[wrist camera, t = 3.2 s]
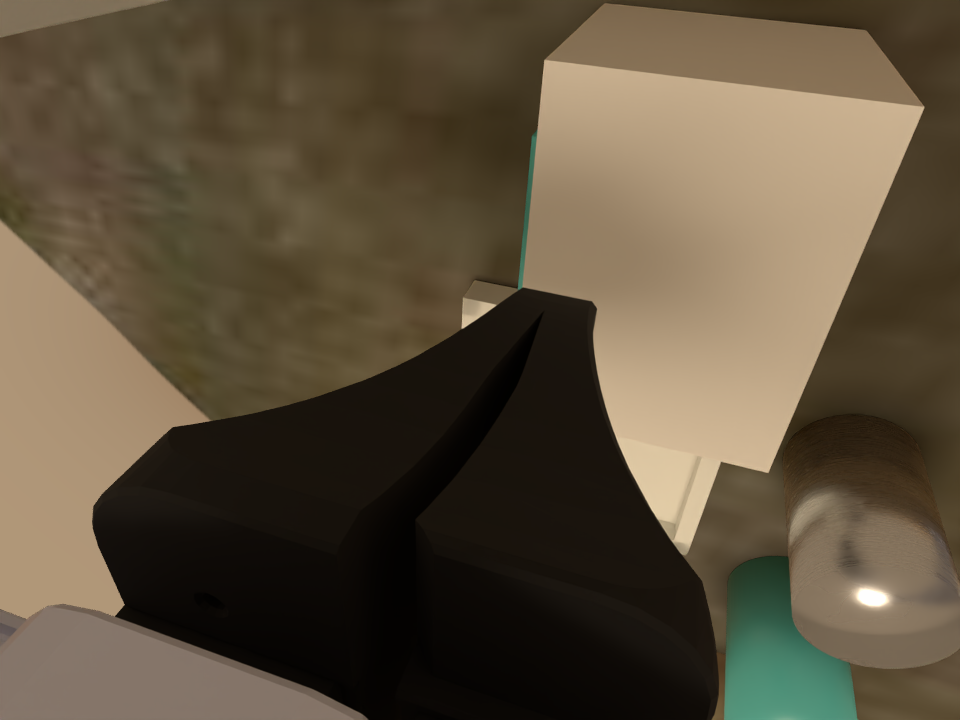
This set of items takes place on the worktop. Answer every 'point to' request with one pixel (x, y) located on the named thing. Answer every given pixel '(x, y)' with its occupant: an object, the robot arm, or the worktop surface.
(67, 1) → the small box
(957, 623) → the cylinder
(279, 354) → the worktop surface
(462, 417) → the robot arm
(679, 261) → the block
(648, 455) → the tray
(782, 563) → the cylinder
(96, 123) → the worktop surface
